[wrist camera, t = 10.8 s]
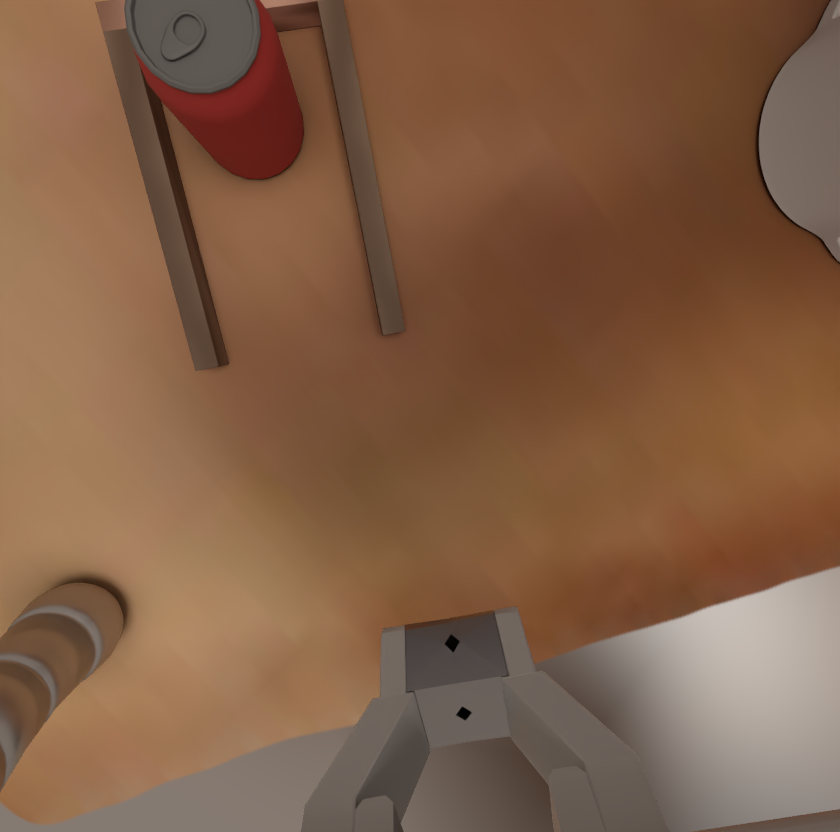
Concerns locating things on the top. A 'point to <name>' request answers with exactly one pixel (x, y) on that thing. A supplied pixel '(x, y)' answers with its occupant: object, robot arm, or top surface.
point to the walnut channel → (290, 9)
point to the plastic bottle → (51, 659)
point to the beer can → (221, 78)
